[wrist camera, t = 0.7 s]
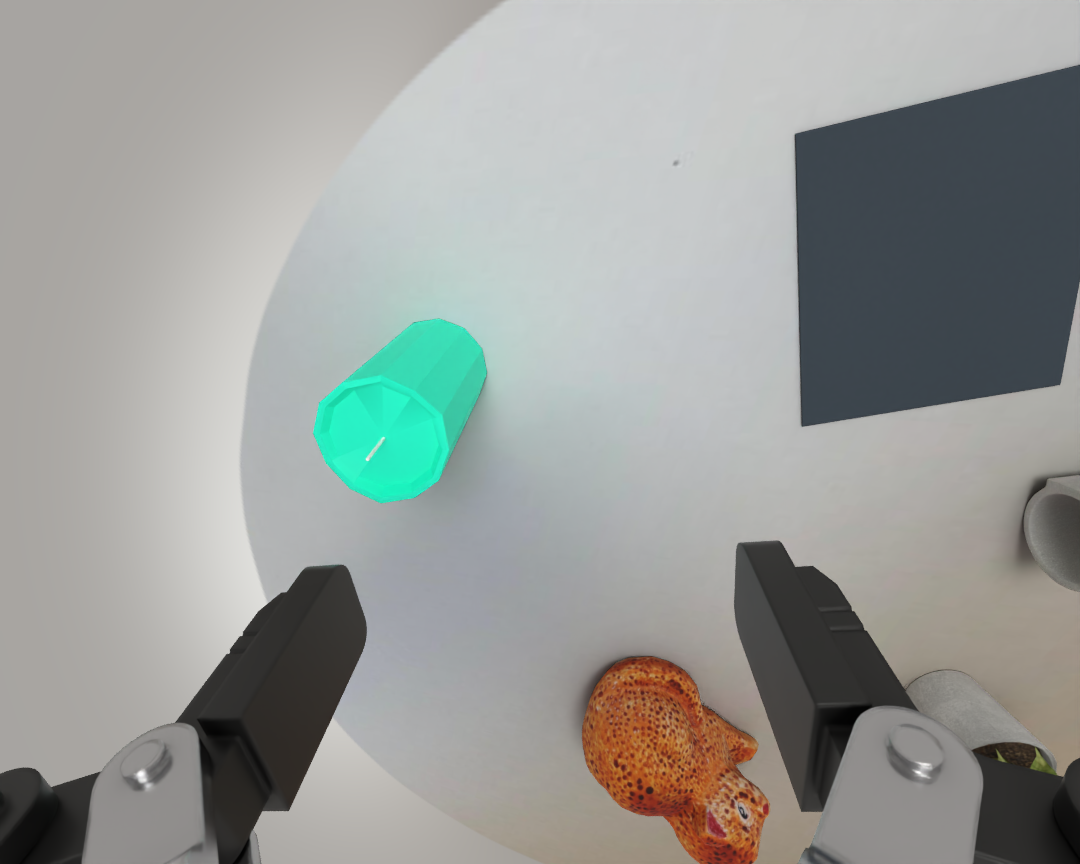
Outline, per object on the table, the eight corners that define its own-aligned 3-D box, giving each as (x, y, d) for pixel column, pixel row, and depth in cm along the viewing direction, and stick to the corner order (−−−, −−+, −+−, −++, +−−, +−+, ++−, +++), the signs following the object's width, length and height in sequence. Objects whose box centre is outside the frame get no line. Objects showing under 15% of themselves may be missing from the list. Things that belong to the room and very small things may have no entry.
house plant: (1108, 658, 38) (1439, 954, 24) (982, 771, 44) (1185, 1065, 29) (930, 602, 37) (1160, 875, 23) (826, 725, 43) (954, 1006, 28)
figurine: (776, 727, 44) (828, 870, 35) (682, 787, 48) (707, 929, 39) (637, 634, 40) (653, 765, 31) (549, 706, 44) (541, 841, 35)
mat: (795, 133, 26) (796, 133, 26) (1120, 55, 24) (1122, 54, 24) (801, 425, 32) (802, 426, 32) (1059, 384, 30) (1060, 384, 30)
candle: (484, 417, 34) (438, 529, 23) (390, 406, 34) (301, 512, 23) (490, 324, 31) (442, 400, 20) (388, 312, 31) (287, 381, 20)
